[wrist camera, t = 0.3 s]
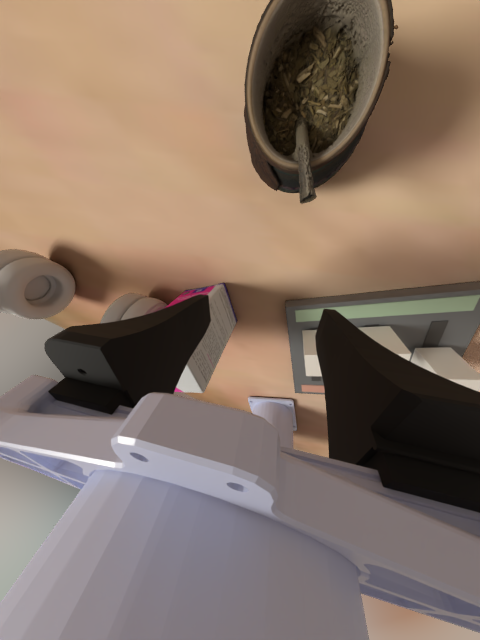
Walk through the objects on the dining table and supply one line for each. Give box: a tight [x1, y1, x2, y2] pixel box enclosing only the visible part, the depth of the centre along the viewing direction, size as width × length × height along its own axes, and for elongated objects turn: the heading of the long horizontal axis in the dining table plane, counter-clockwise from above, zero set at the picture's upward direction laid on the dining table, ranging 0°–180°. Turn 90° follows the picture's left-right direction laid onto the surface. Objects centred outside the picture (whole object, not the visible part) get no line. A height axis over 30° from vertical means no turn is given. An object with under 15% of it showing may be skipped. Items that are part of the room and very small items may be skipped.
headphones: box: [0, 249, 168, 324], centre depth 19 cm, size 20×8×19 cm, turn 74°
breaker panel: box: [285, 281, 480, 394], centre depth 22 cm, size 15×17×2 cm
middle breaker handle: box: [358, 326, 411, 361], centre depth 18 cm, size 3×3×4 cm
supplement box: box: [165, 283, 237, 393], centre depth 19 cm, size 6×6×12 cm
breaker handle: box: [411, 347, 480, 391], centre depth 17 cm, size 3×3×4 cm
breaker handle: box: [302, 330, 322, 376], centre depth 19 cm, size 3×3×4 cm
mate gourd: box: [244, 0, 398, 204], centre depth 10 cm, size 7×8×10 cm
